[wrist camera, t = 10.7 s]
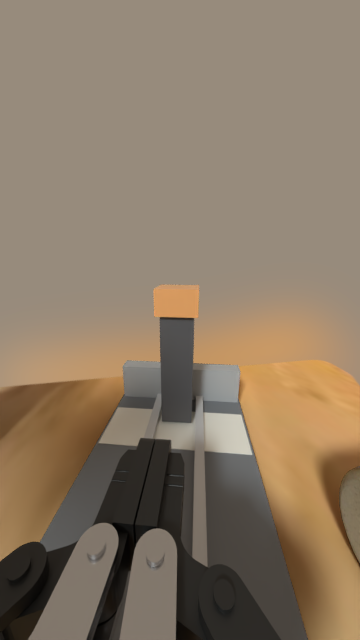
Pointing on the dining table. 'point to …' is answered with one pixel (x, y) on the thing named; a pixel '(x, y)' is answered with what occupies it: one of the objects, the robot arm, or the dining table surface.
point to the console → (194, 485)
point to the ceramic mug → (351, 507)
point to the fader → (176, 348)
